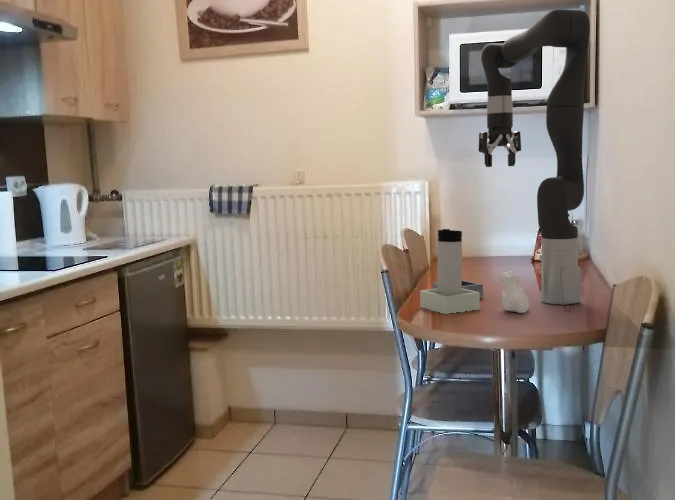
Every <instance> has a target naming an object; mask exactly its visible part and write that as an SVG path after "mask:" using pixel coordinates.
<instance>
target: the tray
mask: <svg viewBox="0 0 675 500" xmlns="http://www.w3.org/2000/svg"><path fill="white" fill-rule="evenodd" d="M419 295H420V296H419V297H420V299H419V300H420V301H419V302H420V303H419V304H420V308H421V307H422V309H425V308H426V309H425V310H428V309H429V310H428V311H431V312H435V311H436V312H435V313H438V312H440V313H439V314H442V313H444V314H443V315H445V314H447V315H450V314H449V313H454V314H457V313H456V312H460V313H465V311H467V312H472V310H474V311H479V310H480V308H481V306H480V304H481V303H480V301H481V299H480V295H479V292H475V291H471V290H467V289H463V288H462V290H461V294H459V295H452V296H443V295H439V294H437V288H436V289H433V288H431V289H430V288H429V289H422V290H421V289H420V292H419Z"/></svg>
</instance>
